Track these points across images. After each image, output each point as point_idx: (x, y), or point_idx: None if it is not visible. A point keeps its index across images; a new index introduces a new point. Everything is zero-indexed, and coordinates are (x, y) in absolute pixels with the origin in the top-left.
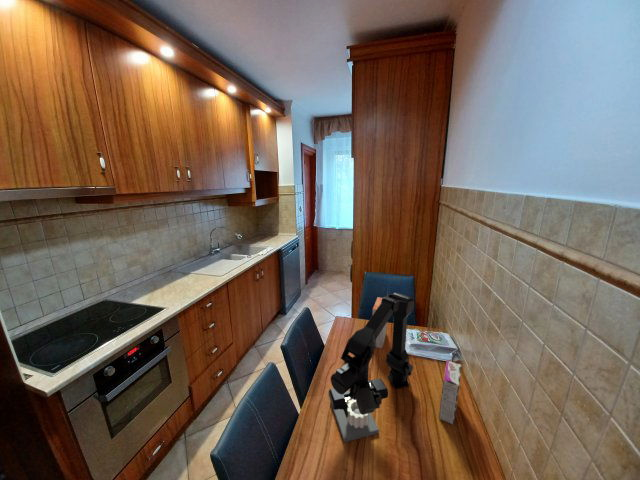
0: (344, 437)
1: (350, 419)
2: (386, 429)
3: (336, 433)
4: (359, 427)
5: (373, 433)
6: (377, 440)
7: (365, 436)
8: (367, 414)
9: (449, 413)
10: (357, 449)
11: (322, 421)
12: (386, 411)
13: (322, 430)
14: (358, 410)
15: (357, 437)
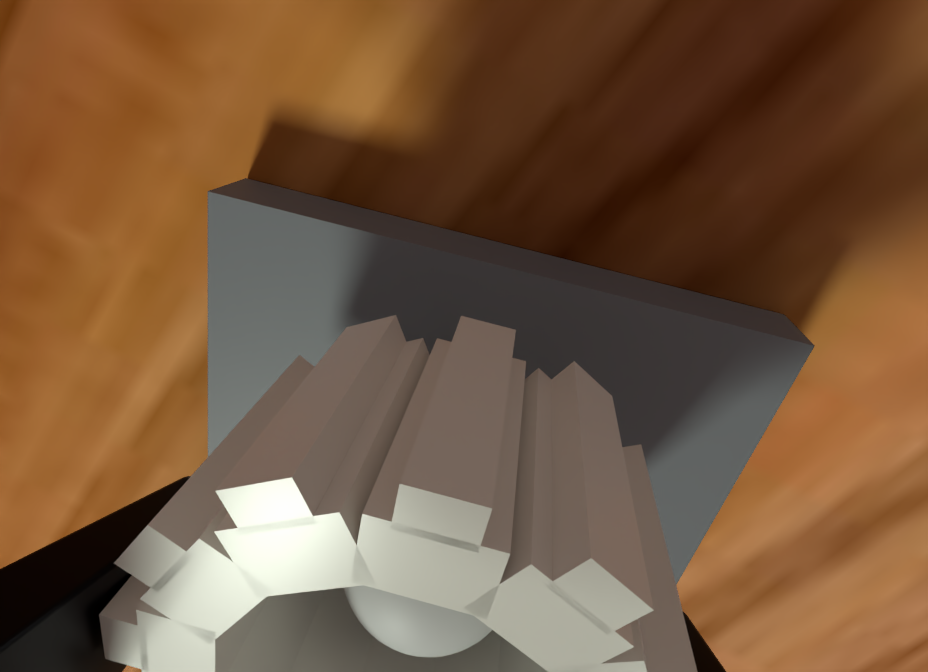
0: (794, 358)
1: (670, 568)
2: (115, 166)
3: (776, 452)
4: None
5: (320, 203)
6: (319, 95)
7: (451, 231)
8: (235, 494)
9: None
10: (686, 132)
11: (809, 625)
12: (19, 354)
13: (899, 558)
14: (391, 625)
15: (579, 270)
